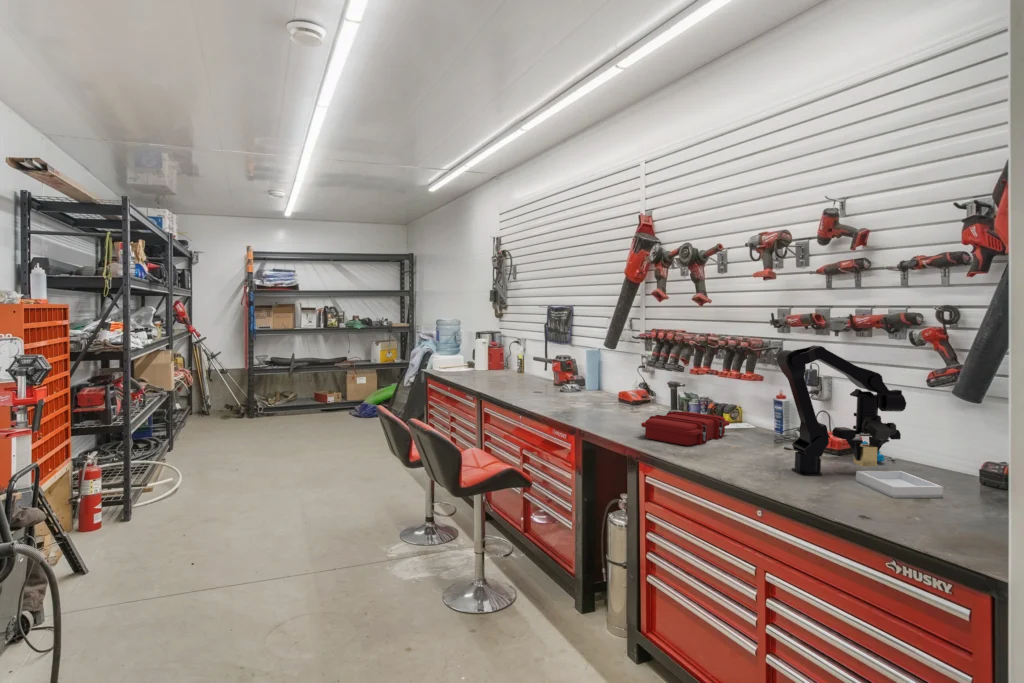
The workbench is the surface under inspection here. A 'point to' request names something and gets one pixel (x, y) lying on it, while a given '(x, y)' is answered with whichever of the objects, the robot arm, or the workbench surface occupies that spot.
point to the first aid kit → (685, 427)
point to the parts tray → (899, 484)
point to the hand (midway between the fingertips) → (865, 460)
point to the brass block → (867, 455)
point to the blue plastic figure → (879, 457)
